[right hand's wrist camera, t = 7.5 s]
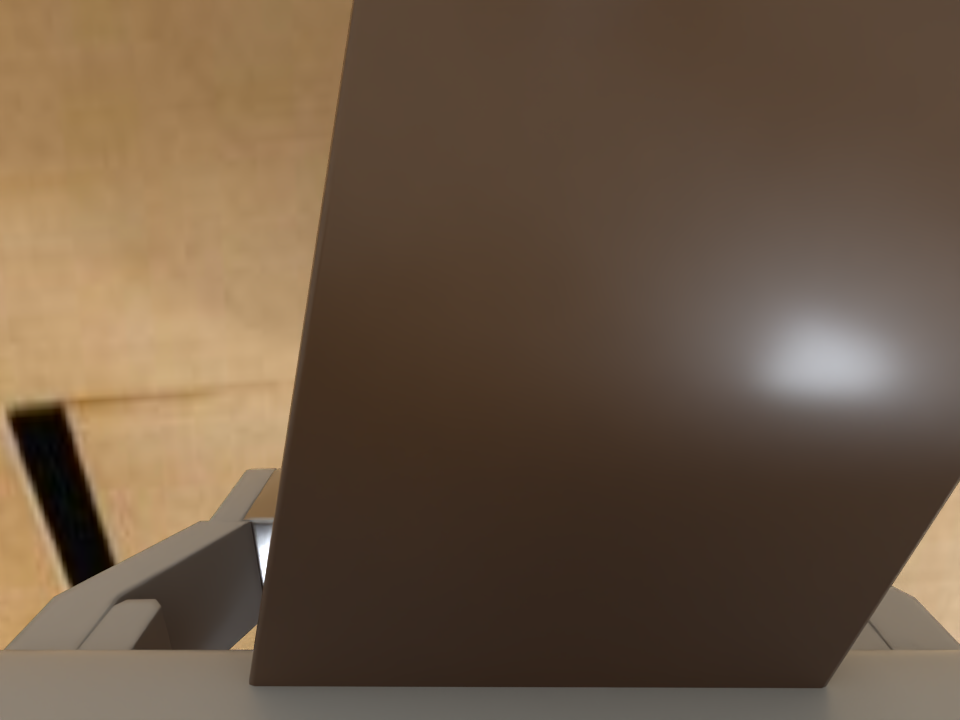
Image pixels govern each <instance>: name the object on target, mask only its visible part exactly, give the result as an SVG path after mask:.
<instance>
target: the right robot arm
mask: <svg viewBox="0 0 960 720" xmlns="http://www.w3.org/2000/svg"><path fill="white" fill-rule="evenodd" d="M280 474H281V469H276V468H265V469H249V470H246V471H245V472H244V474H243V475H242V477H241V478H240V479H239V481H238V482H237V483H236V485H235V486H234V487H233V489H232V490H231V492H230V493H229V494H228V496H227V497H226V498H225V500H224V501H223V503H222V504H221V505H220V507H219V508H218V509H217V511H216V512H215V513H214V515H213V516H212V518H211V519H210V520H209V521H199V522H197V523H196V524H194V525H192V526H190V527H188V528H186V529H184V530H182V531H180V532H178V533H176V534H174V535H172V536H170V537H169V538H167V539H165V540H163V541H161V542H159V543H157V544H155V545H153V546H151V547H149V548H147V549H145V550H143V551H142V552H140V553H138V554H136V555H134V556H132V557H130V558H128V559H126V560H124V561H122V562H120V563H118V564H116V565H115V566H113V567H111V568H109V569H107V570H105V571H103V572H101V573H99V574H97V575H95V576H93V577H91V578H89V579H88V580H86V581H84V582H82V583H80V584H78V585H76V586H74V587H72V588H70V589H68V590H66V591H64V592H62V593H61V594H59V595H57V596H55V597H53V598H52V599H51V601H50V602H49V603H48V604H47V605H46V606H45V607H44V608H43V609H42V610H41V611H40V612H39V613H38V614H37V615H36V616H35V617H34V618H33V619H32V621H31V622H30V623H29V624H28V625H27V626H26V627H25V628H24V629H23V630H22V631H21V632H20V633H19V634H18V635H17V636H16V637H15V638H14V639H13V641H12V642H11V643H10V644H9V645H8V646H7V647H6V648H5V649H4V650H0V720H960V644H959V643H958V642H957V641H956V640H955V639H954V638H953V637H952V636H951V635H950V634H949V633H948V632H947V631H946V630H945V629H944V627H943V626H942V625H941V624H940V623H939V622H938V621H937V620H936V619H935V618H934V617H933V616H932V615H931V614H930V613H929V612H928V611H927V610H926V609H925V608H924V607H923V606H922V605H921V604H920V602H919V601H918V600H917V599H916V598H914V597H912V596H911V595H909V594H907V593H905V592H903V591H901V590H899V589H897V588H895V587H893V586H891V587H890V589H889V590H888V592H887V593H886V595H885V597H884V598H883V600H882V601H881V603H880V604H879V606H878V607H877V609H876V610H875V612H874V613H873V615H872V616H871V618H870V620H869V621H868V623H867V624H866V626H865V627H864V629H863V630H862V632H861V633H860V635H859V636H858V638H857V640H856V641H855V643H854V644H853V646H852V647H851V649H850V650H849V652H848V653H847V655H846V656H845V658H844V660H843V661H842V663H841V664H840V666H839V667H838V669H837V670H836V672H835V673H834V675H833V676H832V678H831V679H830V681H829V683H828V684H827V686H826V687H823V688H610V687H315V686H252V685H249V676H250V670H251V663H252V657H253V650H229V649H230V648H231V647H233V646H234V645H235V644H236V643H237V642H238V641H239V640H240V639H241V638H242V637H244V636H245V635H246V634H247V633H248V632H249V631H250V630H251V629H252V628H253V627H255V626H256V625H257V624H258V618H259V611H260V604H261V598H262V591H263V585H264V578H265V572H266V565H267V559H268V552H269V546H270V539H271V533H272V526H273V520H274V513H275V506H276V500H277V493H278V487H279V480H280Z"/></svg>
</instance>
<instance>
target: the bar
mask: <svg viewBox="0 0 960 720" xmlns="http://www.w3.org/2000/svg"><path fill="white" fill-rule="evenodd" d="M959 481H960V0H353V3H352V10H351V16H350V23H349V29H348V36H347V42H346V49H345V56H344V62H343V69H342V75H341V82H340V88H339V95H338V101H337V108H336V114H335V121H334V127H333V134H332V140H331V147H330V154H329V160H328V167H327V173H326V180H325V186H324V193H323V199H322V206H321V212H320V219H319V225H318V232H317V239H316V245H315V252H314V258H313V265H312V271H311V278H310V284H309V291H308V297H307V304H306V310H305V317H304V323H303V330H302V337H301V343H300V350H299V356H298V363H297V369H296V376H295V382H294V389H293V395H292V402H291V408H290V415H289V422H288V428H287V435H286V441H285V448H284V454H283V461H282V467H281V474H280V480H279V487H278V493H277V500H276V506H275V513H274V520H273V526H272V533H271V539H270V546H269V552H268V559H267V565H266V572H265V578H264V585H263V591H262V598H261V604H260V611H259V618H258V624H257V631H256V637H255V644H254V650H253V657H252V663H251V670H250V676H249V685H252V686H315V687H610V688H823V687H826V686H827V684H828V683H829V681H830V679H831V678H832V676H833V675H834V673H835V672H836V670H837V669H838V667H839V666H840V664H841V663H842V661H843V660H844V658H845V656H846V655H847V653H848V652H849V650H850V649H851V647H852V646H853V644H854V643H855V641H856V640H857V638H858V636H859V635H860V633H861V632H862V630H863V629H864V627H865V626H866V624H867V623H868V621H869V620H870V618H871V616H872V615H873V613H874V612H875V610H876V609H877V607H878V606H879V604H880V603H881V601H882V600H883V598H884V597H885V595H886V593H887V592H888V590H889V589H890V587H891V586H892V584H893V583H894V581H895V580H896V578H897V577H898V575H899V573H900V572H901V570H902V569H903V567H904V566H905V564H906V563H907V561H908V560H909V558H910V557H911V555H912V553H913V552H914V550H915V549H916V547H917V546H918V544H919V543H920V541H921V540H922V538H923V537H924V535H925V534H926V532H927V530H928V529H929V527H930V526H931V524H932V523H933V521H934V520H935V518H936V517H937V515H938V514H939V512H940V510H941V509H942V507H943V506H944V504H945V503H946V501H947V500H948V498H949V497H950V495H951V494H952V492H953V490H954V489H955V487H956V486H957V484H958V483H959Z"/></svg>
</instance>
